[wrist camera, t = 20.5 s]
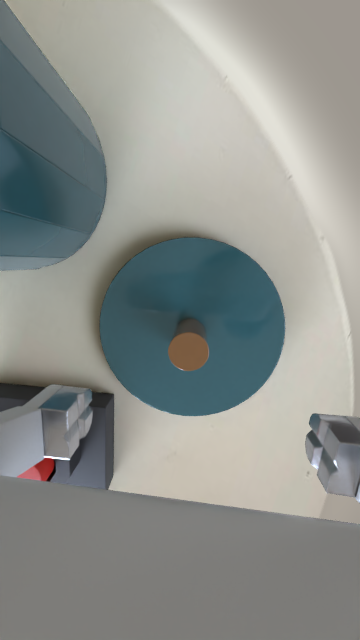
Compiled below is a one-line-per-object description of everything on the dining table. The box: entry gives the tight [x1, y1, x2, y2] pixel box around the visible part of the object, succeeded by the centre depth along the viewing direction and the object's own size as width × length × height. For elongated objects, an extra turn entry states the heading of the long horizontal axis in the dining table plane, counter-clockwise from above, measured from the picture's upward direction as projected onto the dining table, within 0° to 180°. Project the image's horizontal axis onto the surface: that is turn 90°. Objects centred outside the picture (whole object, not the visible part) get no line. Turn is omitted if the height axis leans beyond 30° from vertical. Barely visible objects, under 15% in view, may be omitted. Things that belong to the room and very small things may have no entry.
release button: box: [17, 457, 54, 481], centre depth 19 cm, size 4×4×2 cm
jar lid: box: [100, 237, 285, 416], centre depth 18 cm, size 15×15×5 cm
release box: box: [0, 383, 114, 490], centre depth 22 cm, size 11×9×4 cm
